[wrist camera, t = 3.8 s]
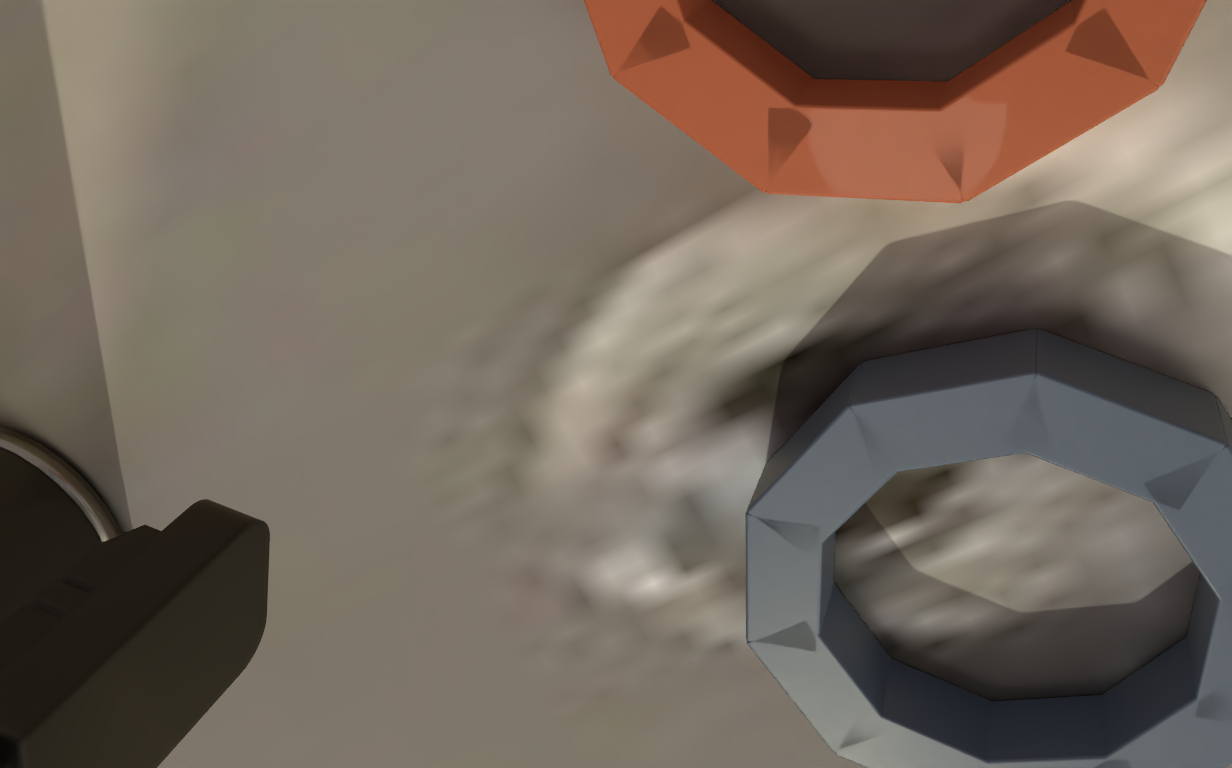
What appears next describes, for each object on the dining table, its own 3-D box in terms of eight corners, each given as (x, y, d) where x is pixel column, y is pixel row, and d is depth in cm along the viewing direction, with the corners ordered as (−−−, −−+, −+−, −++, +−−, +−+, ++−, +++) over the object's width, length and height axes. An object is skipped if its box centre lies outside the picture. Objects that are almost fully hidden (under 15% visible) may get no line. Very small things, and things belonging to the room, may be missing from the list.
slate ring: (1143, 823, 33) (1149, 893, 31) (698, 631, 35) (677, 685, 33) (1423, 470, 26) (1454, 529, 24) (848, 256, 28) (832, 294, 26)
